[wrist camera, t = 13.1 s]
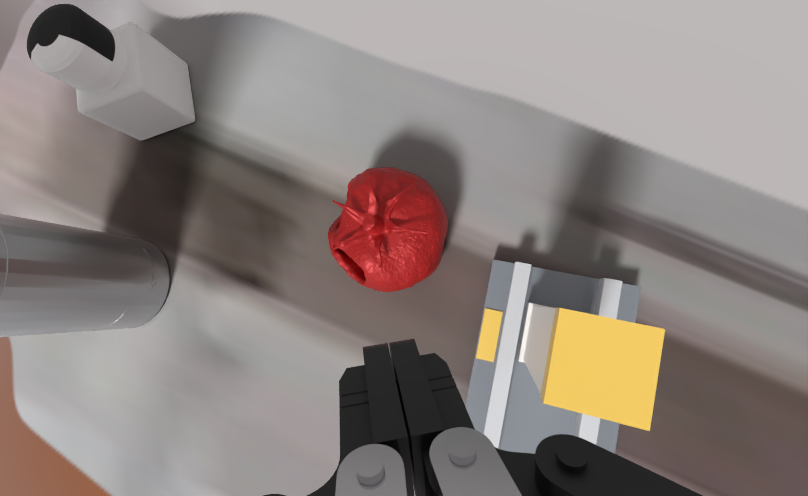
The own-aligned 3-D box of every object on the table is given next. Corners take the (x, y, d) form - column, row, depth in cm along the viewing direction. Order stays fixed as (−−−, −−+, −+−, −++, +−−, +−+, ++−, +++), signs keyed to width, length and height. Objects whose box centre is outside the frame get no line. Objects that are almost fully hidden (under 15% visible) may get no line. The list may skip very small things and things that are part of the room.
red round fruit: (443, 175, 37) (430, 132, 28) (459, 285, 35) (450, 277, 26) (339, 194, 38) (295, 158, 29) (350, 299, 37) (306, 296, 28)
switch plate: (583, 608, 30) (592, 641, 27) (437, 554, 32) (432, 579, 30) (634, 287, 32) (648, 285, 29) (493, 261, 34) (493, 257, 32)
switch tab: (580, 373, 30) (656, 436, 16) (517, 358, 31) (536, 405, 17) (589, 315, 31) (672, 326, 16) (527, 302, 32) (554, 303, 18)
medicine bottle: (134, 84, 46) (11, 9, 34) (188, 63, 44) (80, -22, 33) (141, 142, 44) (15, 85, 33) (197, 122, 43) (87, 55, 31)
